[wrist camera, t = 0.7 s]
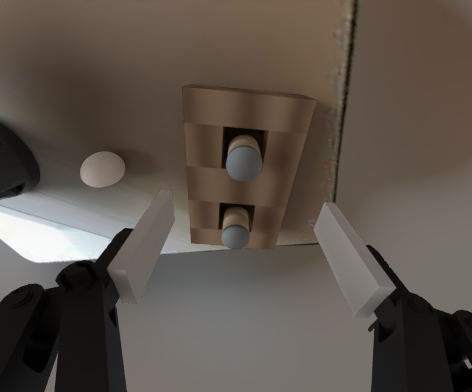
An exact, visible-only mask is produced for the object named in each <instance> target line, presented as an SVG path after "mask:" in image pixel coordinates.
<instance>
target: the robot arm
mask: <svg viewBox="0 0 472 392" xmlns="http://www.w3.org/2000/svg"><path fill="white" fill-rule="evenodd" d="M38 180H39V168H38V165H37V162H36V160H35V158H34V156H33V155H32V153H31V152H30V150H29V149H28V148H27V146H26V145H25V144H24V143H23V142H22V141H21V140H20V139H19V138H18V137H17V136H16V135H15V134H14V133H12V132H11V131H10V130H9V129H7V128H6V127H4V126H3V125H1V124H0V200H2V199H6V198H11V197H15V196H18V195H21V194H23V193H25V192H26V191H28V190H30V189H32V188H33V187H35V186H36V184H37V183H38ZM174 221H175V216H174V207H173V199H172V191H171V190H160V191H159V193H158V194H157V196H156V197H155V199H154V200H153V202H152V203H151V205H150V206H149V207H148V209H147V210H146V212H145V213H144V215H143V216H142V218H141V219H140V221H139V222H138V224H137V225H136V227H135V228H134V229H130V228H125V229H123V230H122V231H120V232H119V233H118V234H117V235H116V236H115V237H114V238H113V240H112V241H111V243H110V244H109V245H108V246H107V249H105V250H104V252H103V253H102V254H101V255H100V257H99V258H98V259H97V261H96V262H95V263H94V262H92V261H90V260H82V261H77V262H75V263H73V264H70V265H68V266H67V267H66V268H64V269H63V270H62V271H61V272H60V273H59V274H58V276H57V278H56V280H55V281H56V282H57V284H58V285H59V287H54V288H50V289H44V288H43V287H42V286H41V285H39V284H28V285H25V286H22V287H20V288H18V289H16V290H14V291H12V292H11V293H10V294H8V295H7V296H6V297H4V298H3V300H2V301H1V302H0V392H44V391H45V388H46V385H47V382H48V379H49V377H50V373H51V370H52V368H53V365H54V362H55V359H56V356H57V353H58V361H57V371H56V381H55V392H127V389H126V381H125V374H124V365H123V357H122V349H121V341H120V332H119V324H118V316H117V308H116V306H115V304H116V303H117V301H118V299H119V297H120V299H121V301H122V303H133V304H138V302H139V299H140V297H141V295H142V293H143V290H144V288H145V286H146V284H147V281H148V279H149V277H150V274H151V272H152V270H153V268H154V265H155V263H156V261H157V259H158V257H159V254H160V252H161V250H162V248H163V245H164V243H165V241H166V239H167V236H168V234H169V232H170V230H171V227H172V225H173V223H174ZM313 230H314V233H315V235H316V237H317V239H318V241H319V243H320V245H321V247H322V249H323V252H324V254H325V256H326V258H327V260H328V262H329V265H330V267H331V269H332V271H333V273H334V275H335V277H336V280H337V281H338V284H339V286H340V288H341V290H342V292H343V294H344V296H345V299H346V301H347V303H348V305H349V307H350V309H351V312H352V313H353V316H354V317H364V318H368V317H369V316H370V315H371V314H372V313H373V312H374V313H375V315H376V316H377V318H378V319H377V320H376V321H375V322H374V323H373V324H372V325H371V326H370V327H369V329H368V331H369V332H370V331H372V330H373V329H374V348H373V367H372V385H371V392H472V368H471V369H469V368H468V367H467V365H466V364H465V362H464V360H466V359H469V361H470V363H471V365H472V313H471V312H469V311H465V310H458V311H456V312H455V313H453V314H449V313H446V312H443V311H440V310H437V309H434V308H433V307H432V306H431V304H430V303H428V302H427V301H426V300H425V299H423V298H422V297H420V296H418V295H417V294H414V293H411V292H409V291H408V290H407V288H406V287H405V286H404V284H403V283H402V282H401V281H400V280H399V278H398V277H397V275H396V274H395V273H394V272H393V270H392V269H391V268H390V267H389V265H388V264H387V262H386V261H384V259H383V258H382V256H381V255H380V253H379V252H378V251H377V250H375V249H374V248H373V247H372V246H370V245H365V244H364V243H363V242H362V240H361V239H360V237H359V236H358V234H357V233H356V232H355V231H354V229H353V228H352V226H351V225H350V224H349V222H348V221H347V220H346V218H345V217H344V216H343V214H342V213H341V211H340V210H339V208H338V207H337V206H336V204H335V203H328V202H324V204H323V207H322V209H321V212H320V214H319V217H318V219H317V222H316V224H315V227H314V229H313Z"/></svg>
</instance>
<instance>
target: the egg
mask: <svg viewBox="0 0 472 392" xmlns="http://www.w3.org/2000/svg"><path fill="white" fill-rule="evenodd" d="M124 173H125V164H124V161H123V160H122V159H121V158H120V156H118V155H117V154H115V153H112V152H107V151H101V152H97V153H94V154H92V155H90V156H89V157H88V158H86V159H85V161H84V162H83V164H82V166H81V169H80V176H81V179H82V180H83V182H84V183H86V184H87V185H89V186H91V187H96V188H102V187H107V186H111V185H113V184H115V183H117V182H118V181H119V180H120V179H121V178H122V177H123V175H124Z"/></svg>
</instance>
